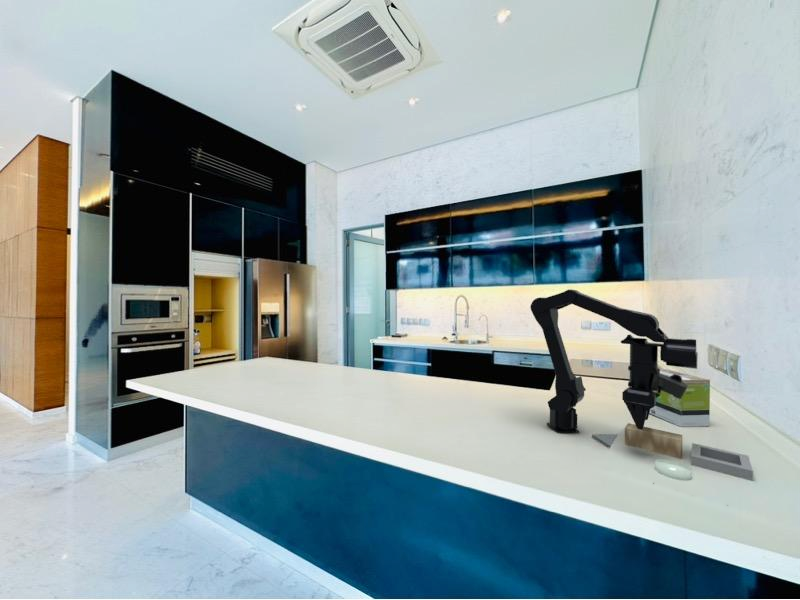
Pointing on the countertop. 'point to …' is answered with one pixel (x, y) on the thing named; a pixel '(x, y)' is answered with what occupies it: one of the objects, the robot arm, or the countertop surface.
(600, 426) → the countertop surface
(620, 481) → the countertop surface
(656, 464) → the pale grey oval lump
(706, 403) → the tea box
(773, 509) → the countertop surface
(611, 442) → the slate board
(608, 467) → the countertop surface
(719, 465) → the stone holder
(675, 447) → the wooden block
